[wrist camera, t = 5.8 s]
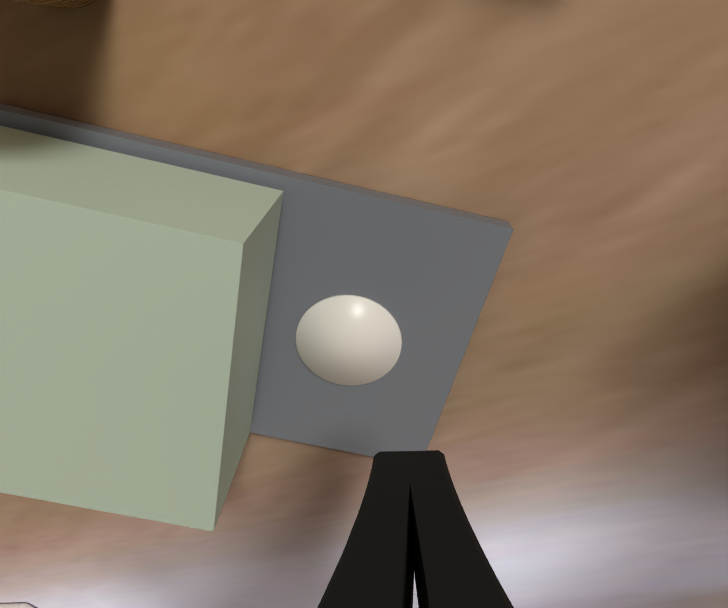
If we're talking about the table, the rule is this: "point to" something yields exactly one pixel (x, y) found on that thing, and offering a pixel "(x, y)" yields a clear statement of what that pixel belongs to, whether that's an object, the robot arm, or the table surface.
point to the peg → (59, 3)
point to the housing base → (344, 297)
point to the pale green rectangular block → (128, 328)
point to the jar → (16, 605)
